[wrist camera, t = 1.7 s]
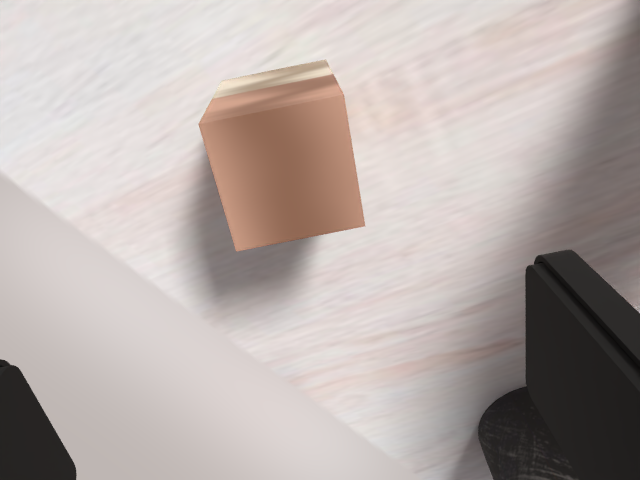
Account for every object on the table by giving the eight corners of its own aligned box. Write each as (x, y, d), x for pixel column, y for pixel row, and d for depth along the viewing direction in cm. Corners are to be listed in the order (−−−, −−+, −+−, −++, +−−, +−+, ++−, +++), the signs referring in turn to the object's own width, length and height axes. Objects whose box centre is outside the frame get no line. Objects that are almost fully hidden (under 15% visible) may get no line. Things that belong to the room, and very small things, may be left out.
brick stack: (325, 59, 25) (343, 94, 18) (342, 159, 27) (365, 226, 20) (221, 80, 25) (198, 123, 18) (247, 178, 27) (236, 251, 20)
